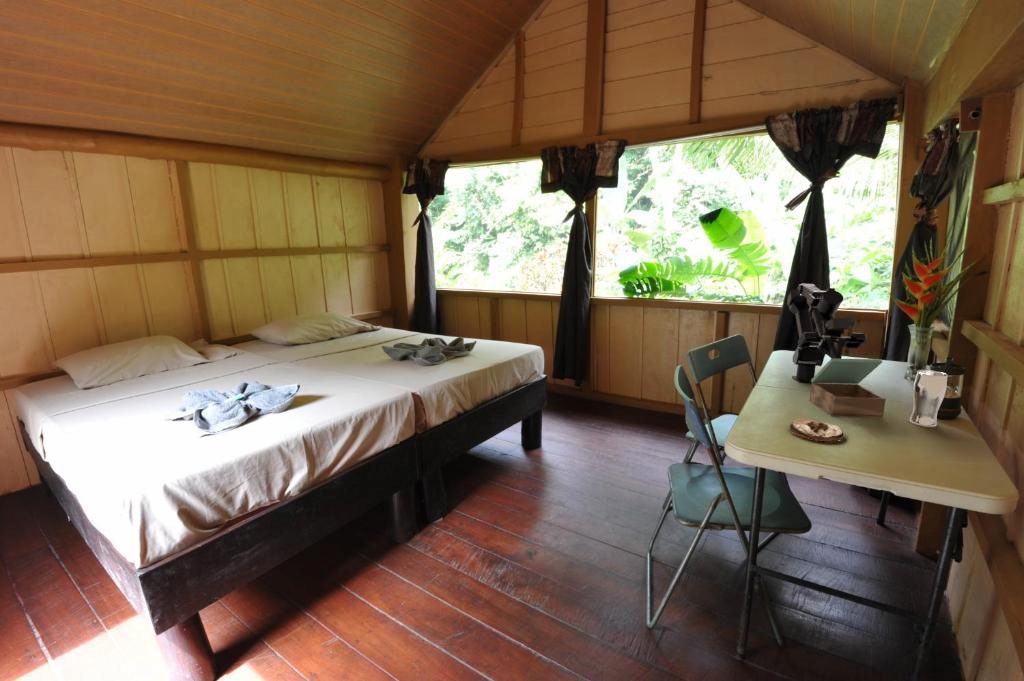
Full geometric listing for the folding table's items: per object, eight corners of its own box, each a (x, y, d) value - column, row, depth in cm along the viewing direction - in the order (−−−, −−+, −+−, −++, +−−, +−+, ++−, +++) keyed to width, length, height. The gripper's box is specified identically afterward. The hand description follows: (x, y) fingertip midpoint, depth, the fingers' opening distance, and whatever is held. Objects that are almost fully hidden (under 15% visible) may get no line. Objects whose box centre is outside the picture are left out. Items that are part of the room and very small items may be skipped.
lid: (811, 382, 158) (810, 376, 159) (857, 383, 156) (855, 377, 158) (832, 361, 146) (830, 355, 147) (882, 362, 145) (880, 355, 146)
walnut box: (809, 400, 159) (811, 383, 158) (855, 402, 158) (857, 384, 157) (832, 416, 146) (835, 397, 144) (882, 418, 144) (885, 399, 143)
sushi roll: (799, 420, 144) (801, 407, 143) (857, 437, 133) (859, 423, 132) (774, 432, 136) (775, 418, 135) (833, 451, 124) (835, 436, 123)
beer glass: (944, 428, 136) (954, 377, 133) (916, 427, 138) (925, 376, 134) (929, 419, 143) (938, 370, 140) (902, 417, 144) (911, 369, 141)
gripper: (806, 307, 157) (819, 348, 149) (868, 308, 155) (884, 349, 147) (792, 327, 167) (803, 366, 158) (850, 327, 165) (865, 368, 156)
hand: (838, 362), depth 155 cm, fingers closed
